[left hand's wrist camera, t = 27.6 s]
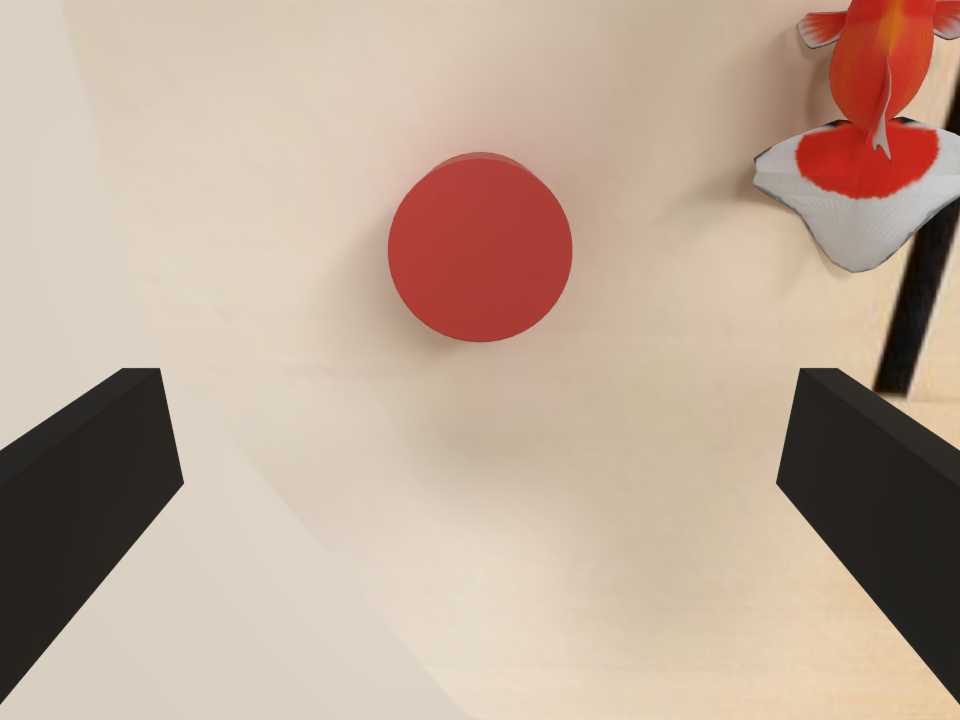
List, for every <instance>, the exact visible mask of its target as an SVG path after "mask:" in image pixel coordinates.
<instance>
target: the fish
mask: <svg viewBox="0 0 960 720" xmlns="http://www.w3.org/2000/svg"><path fill="white" fill-rule="evenodd" d="M797 26H798V30H799V34H800V36H801V38H802V39H803V41H804V42H805V44H806V45H807V46H808V47H809V48H810V49H815V48H819V47H822V46H826V45H829V44H831V43H833V42H835V41H837V40H838V41H837V44H836V46H835V49H834V53H833V56H832V61H831V66H830V86H831V92H832V95H833V98H834V100H835V102H836V104H837V105H838V107H839V108H840V110H841V111H842V113H843V114H844V115H845V116H846V118H847V119H848V120H849V121H848V120H836V121H833V122H831V123H828V124H825V125H823V126H820V127H817V128H815V129H812V130H809V131H807V132H804V133H801V134H799V135H796V136H794V137H791V138H789V139H786V140H784V141H782V142H780V143H778V144H776V145H774V146H772V147H770V148H769V149H767V150H766V151H764V152H763V153H761V154H760V155H758V156H757V157H755V158H754V161H755V166H756V174H755V177H754V180H753V183H752V185H754V186H755V187H757V188H758V189H760V190H761V191H762V192H764V193H765V194H767V195H768V196H770V197H772V198H773V199H775V200H777V201H779V202H781V203H783V204H785V205H786V206H788V207H789V208H791V209H792V210H794V211H795V212H797V213H798V214H800V215H801V216H802V218H803V220H804V222H805V224H806V225H807V227H808V229H809V230H810V232H811V233H812V235H813V236H814V238H815V239H816V241H817V242H818V244H819V245H820V247H821V249H822V250H823V252H824V253H825V255H826V256H827V257H828V258H829V259H830V261H831V262H832V263H833V264H835V265H837V266H839V267H841V268H843V269H845V270H847V271H849V272H851V273H857V272H864V271H868V270H871V269H875V268H876V267H878V266H879V265H880V264H882V263H883V262H885V261H886V260H888V259H889V258H890V257H891V256H892V255H893V254H894V253H895V252H896V251H897V250H898V249H899V248H900V247H901V246H902V245H903V244H904V243H905V242H906V241H907V240H908V239H909V238H910V237H911V236H912V235H913V234H914V233H915V232H916V231H917V230H918V229H919V228H921V227H922V226H923V225H924V224H925V223H926V222H927V221H929V220H930V219H931V218H932V217H933V216H934V215H935V214H937V213H938V212H939V211H940V210H941V209H942V208H944V207H945V206H947V205H948V204H950V203H951V202H953V201H954V200H956V199H957V198H958V197H960V136H958V135H956V134H954V133H951V132H948V131H945V130H942V129H940V128H937V127H934V126H931V125H927V124H924V123H921V122H918V121H915V120H912V119H909V118H906V117H897V118H893V117H895V116H896V115H897V114H898V113H899V112H901V111H902V110H903V109H904V108H905V107H906V106H907V105H908V104H909V103H910V101H911V100H912V99H913V98H914V97H915V95H916V93H917V92H918V90H919V88H920V86H921V85H922V83H923V81H924V79H925V76H926V74H927V71H928V68H929V65H930V60H931V55H932V50H933V41H934V35H936V36H938V37H940V38H943V39H945V40H953V39H956V38H959V37H960V0H852V2H851V4H850V6H849V8H848V11H843V12H822V13H809V14H807V15H806V16H805V18H804V19H802V20H801V21H800V22H798V23H797Z"/></svg>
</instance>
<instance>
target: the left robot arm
mask: <svg viewBox="0 0 960 720" xmlns="http://www.w3.org/2000/svg"><path fill="white" fill-rule="evenodd" d="M183 484H184V481H183V476H182V471H181V467H180V462H179V457H178V452H177V447H176V443H175V438H174V433H173V429H172V424H171V419H170V414H169V409H168V404H167V400H166V395H165V390H164V385H163V381H162V376H161V371H160V368H122V369H120V370H119V371H118V372H116V373H115V374H113V375H112V376H110V377H109V378H107V379H106V380H104V381H103V382H101V383H100V384H98V385H97V386H95V387H94V388H92V389H91V390H89V391H88V392H86V393H85V394H83V395H82V396H81V397H79V398H77V399H76V400H75V401H73V402H72V403H70V404H69V405H67V406H66V407H64V408H63V409H61V410H60V411H58V412H57V413H55V414H54V415H52V416H51V417H49V418H48V419H46V420H45V421H43V422H42V423H40V424H39V425H38V426H36V427H34V428H33V429H32V430H30V431H29V432H27V433H26V434H24V435H23V436H21V437H20V438H18V439H17V440H15V441H14V442H12V443H11V444H9V445H8V446H6V447H5V448H3V449H2V450H0V704H1V703H2V702H3V701H4V700H5V698H6V697H7V696H8V695H9V694H10V692H11V691H12V690H13V689H14V687H15V686H16V685H17V684H18V683H19V681H20V680H21V679H22V678H23V677H24V675H25V674H26V673H27V672H28V671H29V669H30V668H31V667H32V666H33V665H34V663H35V662H36V661H37V660H38V659H39V657H40V656H41V655H42V654H43V652H44V651H45V650H46V649H47V648H48V647H49V645H50V644H51V643H52V642H53V641H54V639H55V638H56V637H57V636H58V634H59V633H60V632H61V631H62V630H63V628H64V627H65V626H66V625H67V624H68V622H69V621H70V620H71V619H72V618H73V616H74V615H75V614H76V613H77V612H78V610H79V609H80V608H81V607H82V606H83V604H84V603H85V602H86V601H87V600H88V598H89V597H90V596H91V595H92V594H93V592H94V591H95V590H96V589H97V588H98V586H99V585H100V584H101V583H102V582H103V580H104V579H105V578H106V577H107V576H108V574H109V573H110V572H111V571H112V569H113V568H114V567H115V566H116V565H117V563H118V562H119V561H120V560H121V559H122V557H123V556H124V555H125V554H126V553H127V551H128V550H129V549H130V548H131V547H132V545H133V544H134V543H135V542H136V541H137V539H138V538H139V537H140V536H141V534H142V533H143V532H144V531H145V530H146V529H147V527H148V526H149V525H150V524H151V523H152V521H153V520H154V519H155V518H156V517H157V515H158V514H159V513H160V512H161V510H162V509H163V508H164V507H165V506H166V504H167V503H168V502H169V501H170V500H171V498H172V497H173V496H174V495H175V494H176V492H177V491H178V490H179V489H180V488H181V486H182V485H183ZM776 484H777V485H778V486H779V488H780V489H781V490H782V491H783V492H784V494H785V495H786V496H787V497H788V498H789V500H790V501H791V502H792V503H793V504H794V506H795V507H796V508H797V509H798V511H799V512H800V513H801V514H802V515H803V517H804V518H805V519H806V520H807V521H808V523H809V524H810V525H811V526H812V527H813V529H814V530H815V531H816V532H817V533H818V535H819V536H820V537H821V538H822V539H823V541H824V542H825V543H826V544H827V545H828V547H829V548H830V549H831V550H832V551H833V553H834V554H835V555H836V556H837V557H838V559H839V560H840V561H841V562H842V563H843V565H844V566H845V567H846V568H847V569H848V571H849V572H850V573H851V574H852V576H853V577H854V578H855V579H856V580H857V582H858V583H859V584H860V585H861V586H862V588H863V589H864V590H865V591H866V592H867V594H868V595H869V596H870V597H871V598H872V600H873V601H874V602H875V603H876V604H877V606H878V607H879V608H880V609H881V610H882V612H883V613H884V614H885V615H886V616H887V618H888V619H889V620H890V621H891V622H892V624H893V625H894V626H895V627H896V628H897V630H898V631H899V632H900V633H901V635H902V636H903V637H904V638H905V639H906V641H907V642H908V643H909V644H910V645H911V647H912V648H913V649H914V650H915V651H916V653H917V654H918V655H919V656H920V657H921V659H922V660H923V661H924V662H925V663H926V665H927V666H928V667H929V668H930V669H931V671H932V672H933V673H934V674H935V675H936V677H937V678H938V679H939V680H940V681H941V683H942V684H943V685H944V686H945V687H946V689H947V690H948V691H949V692H950V694H951V695H952V696H953V697H954V698H955V700H956V701H957V702H958V703H959V704H960V450H958V449H957V448H955V447H954V446H952V445H951V444H949V443H948V442H946V441H945V440H943V439H942V438H940V437H939V436H937V435H936V434H934V433H933V432H931V431H930V430H928V429H927V428H926V427H924V426H923V425H921V424H920V423H918V422H917V421H915V420H914V419H912V418H911V417H909V416H908V415H906V414H905V413H903V412H902V411H900V410H899V409H897V408H896V407H894V406H893V405H891V404H890V403H888V402H887V401H885V400H884V399H883V398H881V397H880V396H878V395H877V394H875V393H874V392H872V391H871V390H869V389H868V388H866V387H865V386H863V385H862V384H860V383H859V382H857V381H856V380H854V379H853V378H851V377H850V376H848V375H847V374H845V373H844V372H842V371H841V370H840V369H838V368H800V371H799V376H798V381H797V385H796V390H795V395H794V400H793V404H792V409H791V414H790V419H789V424H788V428H787V433H786V438H785V443H784V447H783V452H782V457H781V462H780V466H779V471H778V476H777V481H776Z"/></svg>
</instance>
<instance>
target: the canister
mask: <svg viewBox="0 0 960 720" xmlns="http://www.w3.org/2000/svg"><path fill="white" fill-rule="evenodd" d="M388 258H389V267H390V271H391V275H392V278H393V281H394V284H395V287H396V289H397V291H398V293H399V295H400V296H401V298H402V300H403V301H404V303H405V304H406V305H407V307H408V308H409V309H410V310H411V311H412V313H413V314H414V315H415V316H416V317H417V318H418V319H420V320H421V321H422V322H423V323H424V324H426V325H427V326H429V327H430V328H432V329H433V330H435V331H437V332H439V333H441V334H443V335H445V336H448V337H451V338H454V339H458V340H463V341H469V342H492V341H498V340H502V339H506V338H509V337H512V336H515V335H517V334H519V333H522V332H523V331H525V330H527V329H529V328H530V327H532V326H533V325H535V324H536V323H537V322H538V321H540V320H541V319H542V318H543V317H544V316H545V315H546V314H547V313H548V312H549V311H550V310H551V308H552V307H553V306H554V305H555V303H556V302H557V300H558V299H559V297H560V295H561V294H562V292H563V290H564V287H565V285H566V283H567V280H568V276H569V273H570V269H571V262H572V239H571V232H570V228H569V224H568V221H567V218H566V216H565V213H564V211H563V209H562V207H561V206H560V204H559V202H558V200H557V199H556V198H555V196H554V195H553V194H552V192H551V191H550V190H549V189H548V188H547V187H546V186H545V185H544V184H543V183H542V182H541V181H540V180H539V179H538V178H537V177H536V176H535V175H533V174H532V173H531V172H530V171H529V170H528V169H526V168H525V167H524V166H522V165H521V164H519V163H517V162H516V161H514V160H512V159H510V158H507V157H505V156H502V155H498V154H493V153H484V152H477V153H468V154H462V155H459V156H456V157H453V158H451V159H449V160H447V161H445V162H443V163H441V164H440V165H438V166H437V167H435V168H434V169H433V170H432V171H431V172H429V173H428V174H427V175H426V176H425V177H424V178H423V179H422V180H421V181H419V182H418V183H417V184H416V185H415V186H414V187H413V188H412V189H411V191H410V192H409V193H408V194H407V195H406V197H405V198H404V200H403V201H402V203H401V204H400V206H399V208H398V210H397V212H396V214H395V217H394V219H393V223H392V226H391V229H390V235H389V241H388Z"/></svg>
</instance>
